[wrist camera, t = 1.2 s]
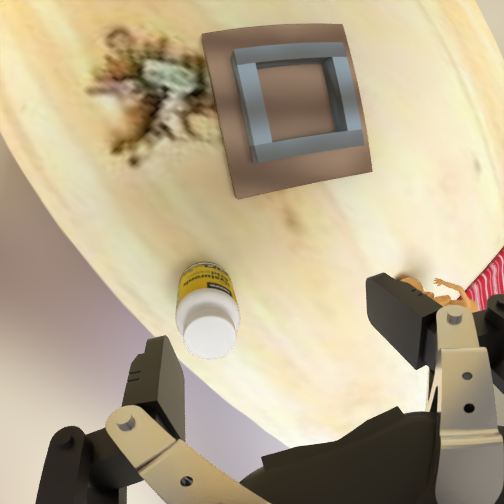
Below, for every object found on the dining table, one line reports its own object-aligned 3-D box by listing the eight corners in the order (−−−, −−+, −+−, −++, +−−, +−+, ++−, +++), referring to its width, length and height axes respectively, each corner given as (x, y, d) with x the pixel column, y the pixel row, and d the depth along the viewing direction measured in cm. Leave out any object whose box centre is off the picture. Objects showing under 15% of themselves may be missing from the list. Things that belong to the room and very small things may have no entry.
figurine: (378, 272, 35) (442, 320, 23) (413, 244, 34) (482, 281, 23) (396, 317, 38) (450, 367, 26) (428, 291, 37) (486, 332, 26)
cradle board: (201, 39, 23) (202, 23, 20) (336, 28, 25) (353, 16, 21) (235, 197, 29) (241, 204, 25) (365, 170, 30) (386, 174, 27)
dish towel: (522, 287, 45) (530, 292, 43) (453, 365, 46) (461, 373, 44) (516, 224, 39) (527, 227, 36) (439, 312, 40) (449, 320, 38)
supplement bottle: (232, 261, 31) (249, 308, 22) (229, 309, 32) (244, 367, 23) (178, 259, 30) (172, 307, 21) (178, 308, 31) (175, 367, 22)
